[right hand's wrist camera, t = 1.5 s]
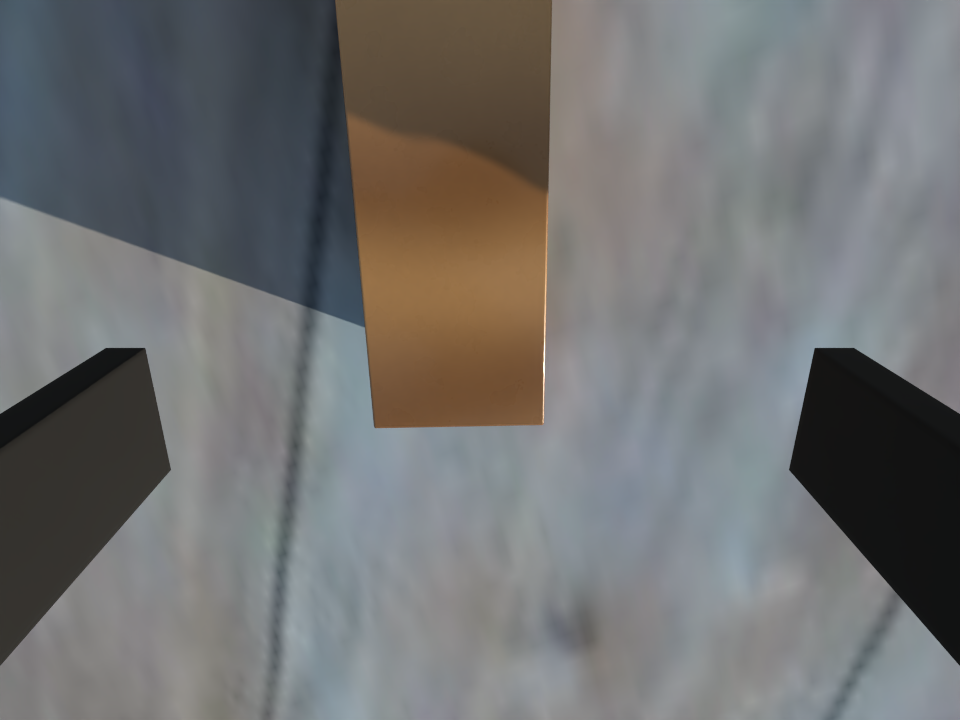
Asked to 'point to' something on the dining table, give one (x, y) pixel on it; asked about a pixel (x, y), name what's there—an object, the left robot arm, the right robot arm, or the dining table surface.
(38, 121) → the dining table surface
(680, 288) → the dining table surface
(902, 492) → the right robot arm
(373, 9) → the bar
